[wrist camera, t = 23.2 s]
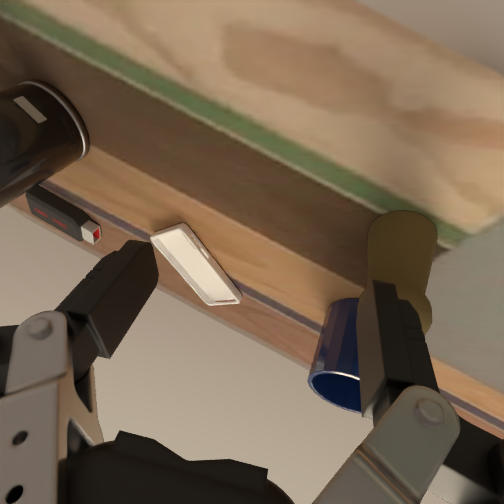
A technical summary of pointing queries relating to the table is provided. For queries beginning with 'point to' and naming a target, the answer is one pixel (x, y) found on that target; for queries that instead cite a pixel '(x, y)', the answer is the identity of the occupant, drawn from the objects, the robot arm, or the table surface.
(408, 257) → the olive pawn figure
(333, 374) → the mug
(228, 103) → the table surface
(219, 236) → the table surface
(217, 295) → the phone case
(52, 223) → the usb drive
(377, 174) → the table surface
